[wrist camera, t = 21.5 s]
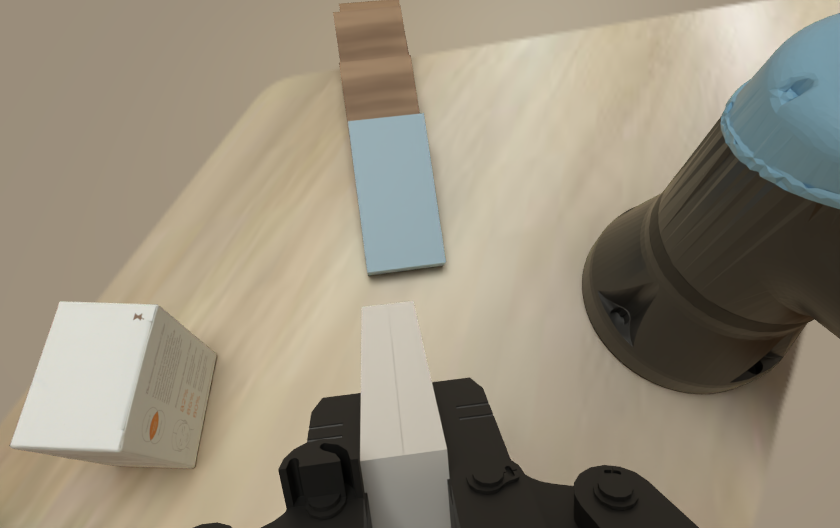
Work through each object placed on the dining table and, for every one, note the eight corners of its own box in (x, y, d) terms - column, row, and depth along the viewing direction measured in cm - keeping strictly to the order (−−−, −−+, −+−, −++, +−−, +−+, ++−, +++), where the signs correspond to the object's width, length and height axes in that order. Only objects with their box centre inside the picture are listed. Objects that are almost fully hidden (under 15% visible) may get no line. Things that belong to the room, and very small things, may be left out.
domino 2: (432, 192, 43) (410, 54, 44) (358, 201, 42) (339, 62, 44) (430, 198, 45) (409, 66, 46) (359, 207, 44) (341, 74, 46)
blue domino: (445, 262, 40) (423, 113, 42) (367, 272, 40) (347, 121, 41) (442, 265, 42) (421, 123, 44) (368, 275, 42) (349, 131, 43)
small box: (143, 351, 39) (57, 296, 29) (220, 354, 39) (159, 299, 29) (111, 468, 35) (2, 448, 26) (196, 471, 35) (118, 452, 26)
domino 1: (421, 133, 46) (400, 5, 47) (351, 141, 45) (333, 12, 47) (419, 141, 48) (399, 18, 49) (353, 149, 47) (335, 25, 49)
